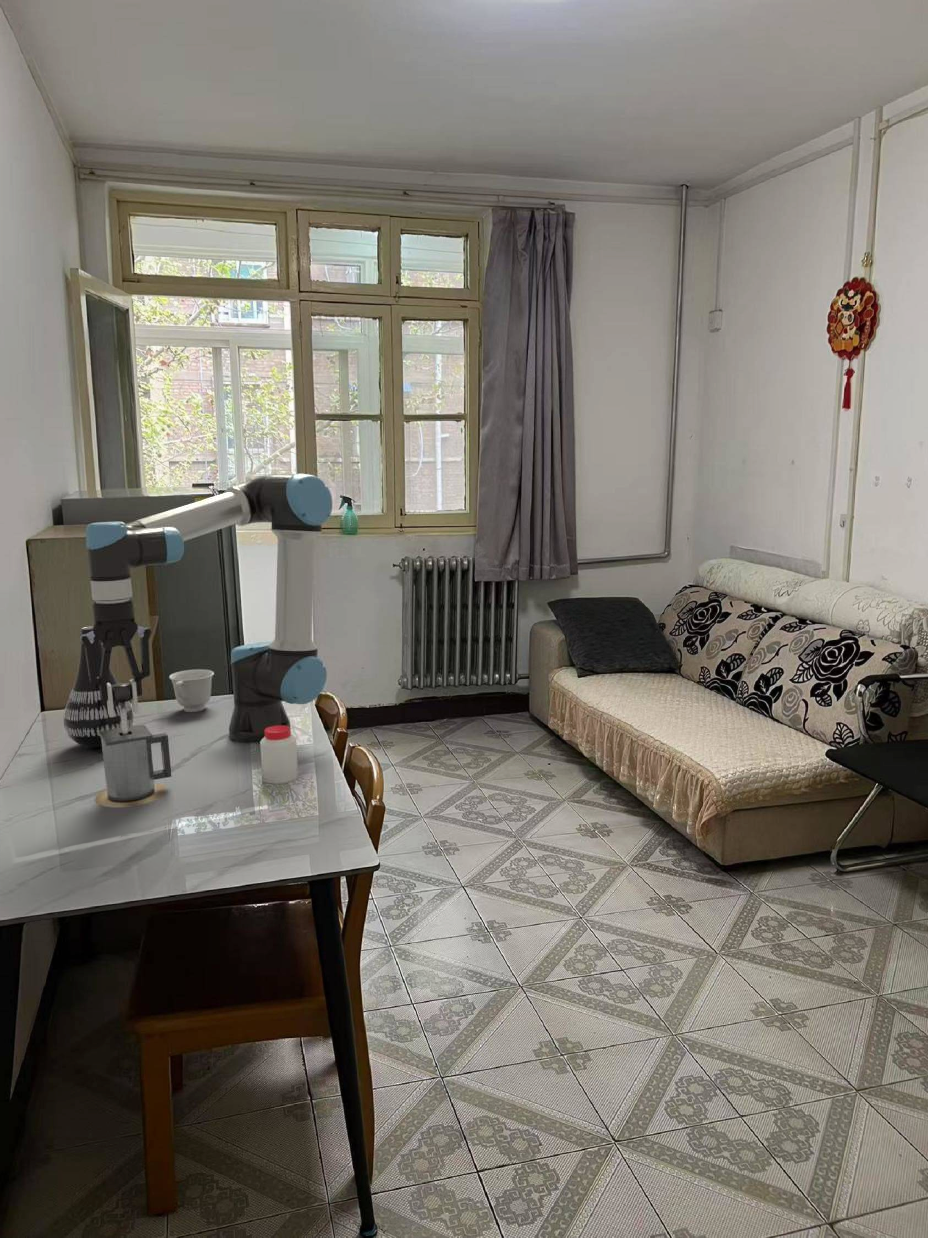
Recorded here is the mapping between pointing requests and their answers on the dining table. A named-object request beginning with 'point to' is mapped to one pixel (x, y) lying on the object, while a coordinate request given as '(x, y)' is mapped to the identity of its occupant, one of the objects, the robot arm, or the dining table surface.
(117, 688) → the plunger
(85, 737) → the vase
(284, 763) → the pill bottle
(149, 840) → the dining table surface
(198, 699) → the teacup
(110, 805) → the ring
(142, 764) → the french press
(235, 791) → the dining table surface
